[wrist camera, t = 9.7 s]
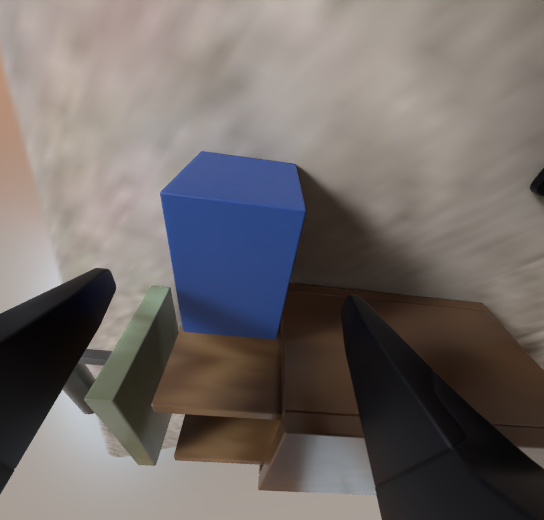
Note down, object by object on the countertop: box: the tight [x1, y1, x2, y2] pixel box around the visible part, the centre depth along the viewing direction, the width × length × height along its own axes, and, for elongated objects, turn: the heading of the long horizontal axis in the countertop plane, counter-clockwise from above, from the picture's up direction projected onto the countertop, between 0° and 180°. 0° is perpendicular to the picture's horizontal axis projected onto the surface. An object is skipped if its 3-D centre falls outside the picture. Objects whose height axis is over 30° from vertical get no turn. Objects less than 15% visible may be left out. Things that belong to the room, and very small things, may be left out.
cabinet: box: [258, 283, 544, 495], centre depth 17 cm, size 15×12×9 cm
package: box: [160, 151, 306, 340], centre depth 11 cm, size 7×4×5 cm, turn 173°
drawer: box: [62, 286, 283, 466], centre depth 16 cm, size 18×10×7 cm, turn 83°
